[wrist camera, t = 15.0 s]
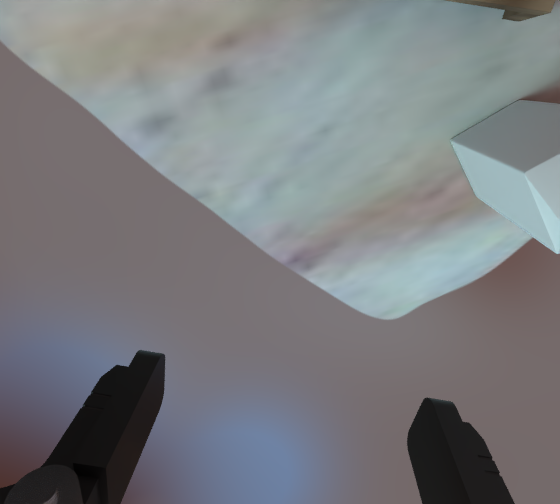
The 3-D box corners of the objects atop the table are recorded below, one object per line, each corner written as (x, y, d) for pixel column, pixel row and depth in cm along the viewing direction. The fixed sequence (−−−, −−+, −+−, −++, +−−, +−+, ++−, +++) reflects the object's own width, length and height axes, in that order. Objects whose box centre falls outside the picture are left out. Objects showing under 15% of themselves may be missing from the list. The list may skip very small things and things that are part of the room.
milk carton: (448, 139, 38) (559, 188, 21) (519, 98, 36) (705, 116, 19) (475, 196, 41) (596, 283, 23) (543, 161, 39) (730, 226, 21)
